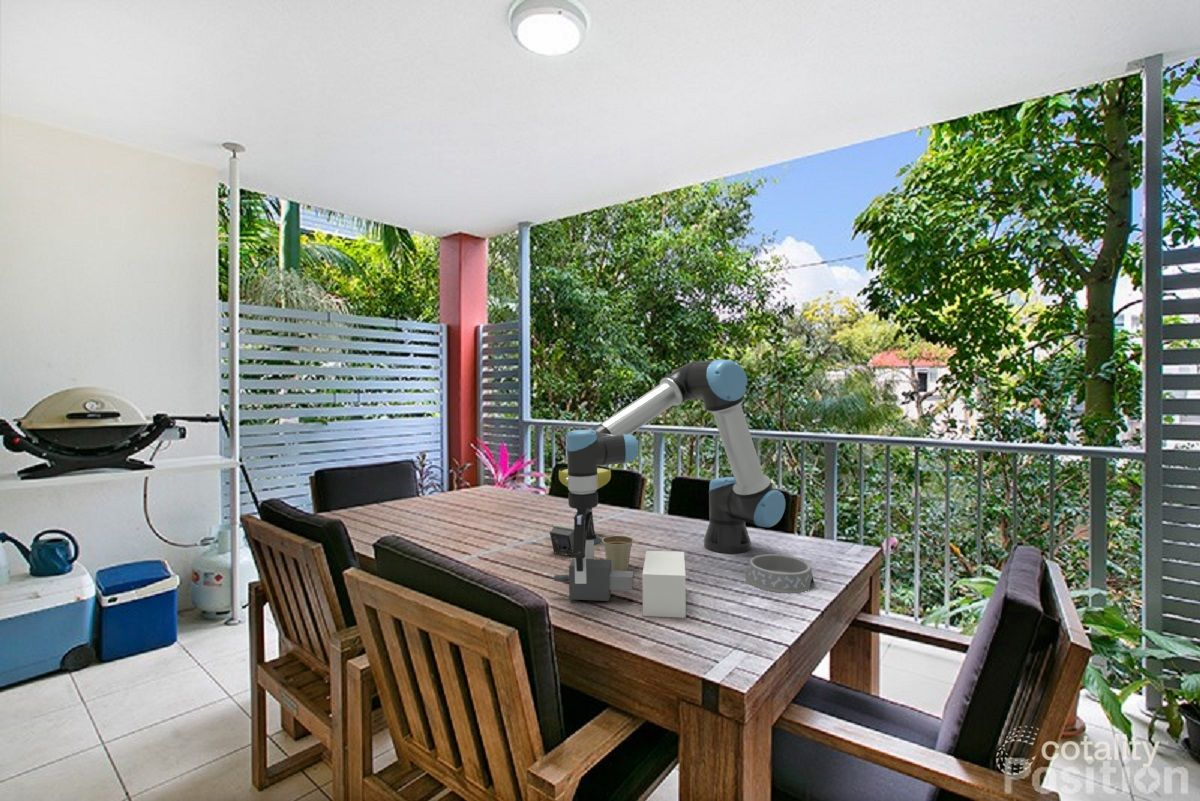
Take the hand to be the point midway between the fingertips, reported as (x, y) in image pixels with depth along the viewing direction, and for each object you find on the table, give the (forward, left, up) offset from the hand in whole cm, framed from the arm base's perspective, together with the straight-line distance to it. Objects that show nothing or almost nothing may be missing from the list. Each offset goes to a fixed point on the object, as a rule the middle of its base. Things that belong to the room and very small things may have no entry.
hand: (585, 573), depth 141 cm
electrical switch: (+12, -35, -7) cm, 37 cm away
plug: (-2, 0, -6) cm, 6 cm away
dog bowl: (-51, -17, -7) cm, 55 cm away
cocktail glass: (+8, -50, -7) cm, 51 cm away
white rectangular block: (-20, 0, -6) cm, 21 cm away
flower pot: (-6, -23, -7) cm, 25 cm away
